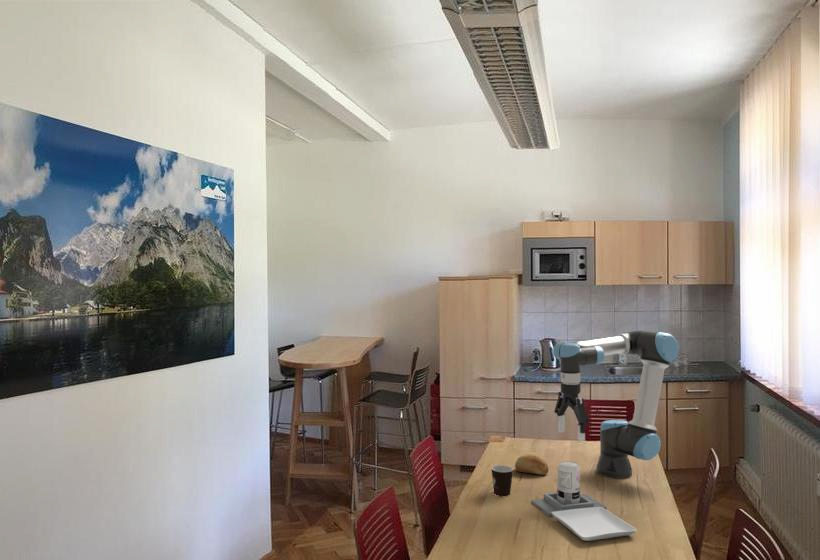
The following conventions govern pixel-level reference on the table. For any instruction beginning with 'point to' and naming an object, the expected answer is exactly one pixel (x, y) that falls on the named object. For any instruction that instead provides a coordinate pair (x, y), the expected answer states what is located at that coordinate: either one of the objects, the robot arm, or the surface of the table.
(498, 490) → the coffee mug
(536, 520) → the table surface
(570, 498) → the supplement can
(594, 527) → the salad plate
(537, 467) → the bread roll
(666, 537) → the table surface
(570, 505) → the dock
